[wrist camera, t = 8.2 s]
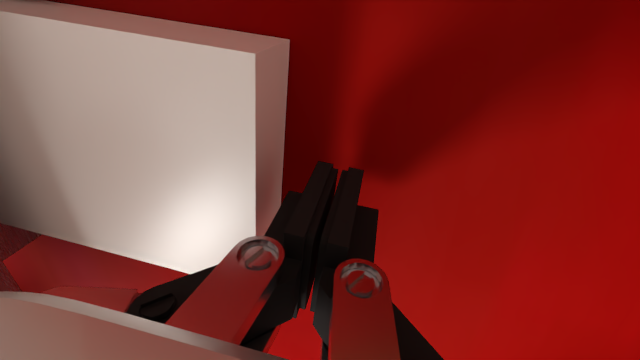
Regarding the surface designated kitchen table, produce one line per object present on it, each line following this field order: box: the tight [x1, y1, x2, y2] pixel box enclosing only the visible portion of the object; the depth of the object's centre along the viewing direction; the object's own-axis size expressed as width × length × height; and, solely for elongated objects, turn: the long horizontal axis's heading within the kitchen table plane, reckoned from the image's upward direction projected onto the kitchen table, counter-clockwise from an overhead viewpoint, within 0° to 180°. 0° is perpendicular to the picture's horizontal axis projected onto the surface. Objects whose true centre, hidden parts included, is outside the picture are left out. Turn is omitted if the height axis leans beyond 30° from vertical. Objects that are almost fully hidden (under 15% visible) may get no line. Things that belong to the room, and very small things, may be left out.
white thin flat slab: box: [0, 0, 290, 274], centre depth 13 cm, size 16×10×3 cm, turn 84°
